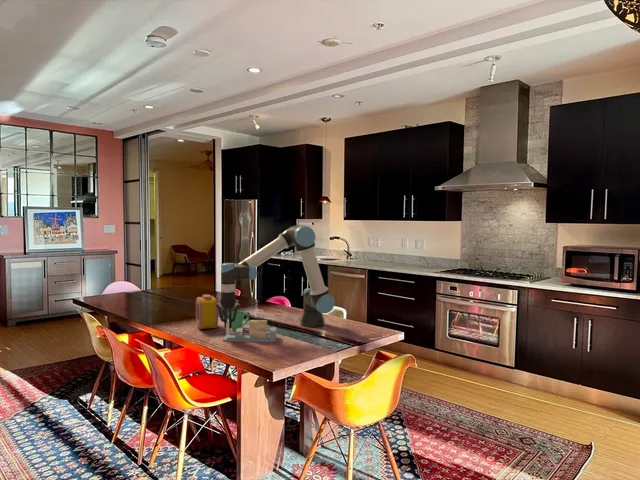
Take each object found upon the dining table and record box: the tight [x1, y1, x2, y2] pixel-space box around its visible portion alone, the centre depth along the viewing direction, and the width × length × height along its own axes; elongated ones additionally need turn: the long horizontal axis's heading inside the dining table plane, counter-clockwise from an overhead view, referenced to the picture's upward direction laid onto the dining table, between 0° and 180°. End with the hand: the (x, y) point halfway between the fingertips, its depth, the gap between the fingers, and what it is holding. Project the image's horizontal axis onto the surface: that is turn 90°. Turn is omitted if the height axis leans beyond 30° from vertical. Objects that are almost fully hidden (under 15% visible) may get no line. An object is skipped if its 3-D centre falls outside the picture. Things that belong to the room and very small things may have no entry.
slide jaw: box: [234, 327, 244, 338], centre depth 251 cm, size 9×3×4 cm, turn 1°
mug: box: [227, 310, 251, 331], centre depth 274 cm, size 15×10×10 cm
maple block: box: [248, 319, 268, 338], centre depth 251 cm, size 5×9×9 cm, turn 91°
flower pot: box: [222, 299, 239, 317], centre depth 310 cm, size 12×11×10 cm
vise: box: [222, 326, 277, 343], centre depth 251 cm, size 10×28×6 cm, turn 91°
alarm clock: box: [195, 294, 219, 330], centre depth 275 cm, size 18×11×19 cm, turn 22°
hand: (228, 334), depth 251 cm, fingers closed
